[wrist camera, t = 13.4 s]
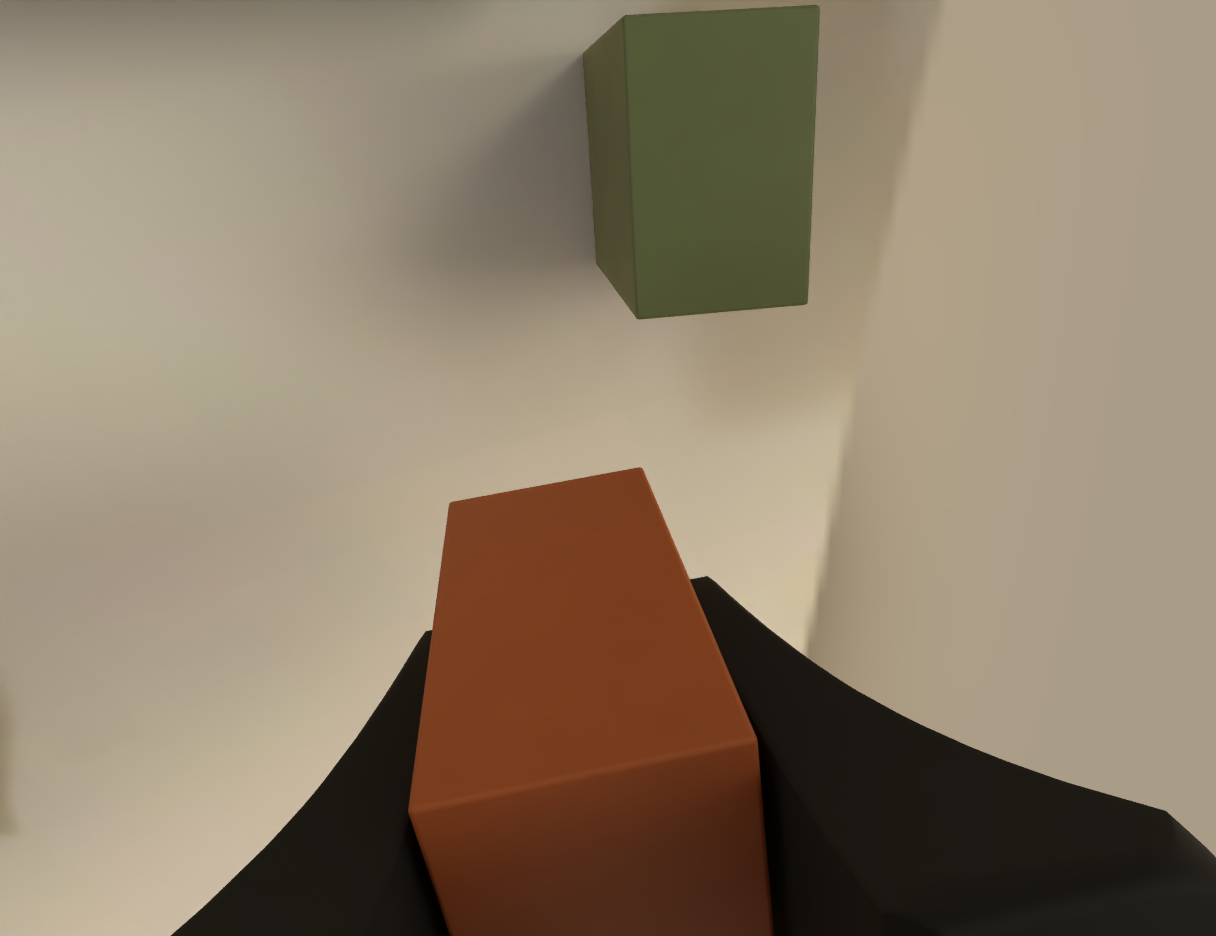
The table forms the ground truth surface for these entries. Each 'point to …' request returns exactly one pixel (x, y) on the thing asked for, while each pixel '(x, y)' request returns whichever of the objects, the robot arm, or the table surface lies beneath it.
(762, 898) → the orange rectangular block
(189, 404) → the table surface
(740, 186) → the block
